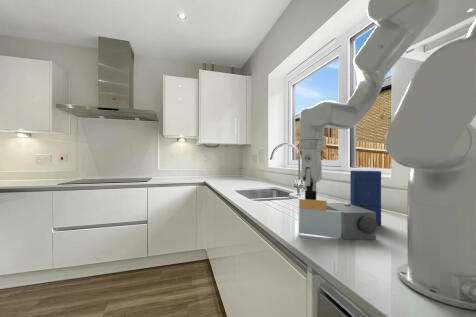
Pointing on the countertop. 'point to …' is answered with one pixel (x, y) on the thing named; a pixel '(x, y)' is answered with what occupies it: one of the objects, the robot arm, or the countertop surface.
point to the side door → (318, 219)
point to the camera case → (355, 221)
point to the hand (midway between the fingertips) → (310, 202)
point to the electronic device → (366, 191)
